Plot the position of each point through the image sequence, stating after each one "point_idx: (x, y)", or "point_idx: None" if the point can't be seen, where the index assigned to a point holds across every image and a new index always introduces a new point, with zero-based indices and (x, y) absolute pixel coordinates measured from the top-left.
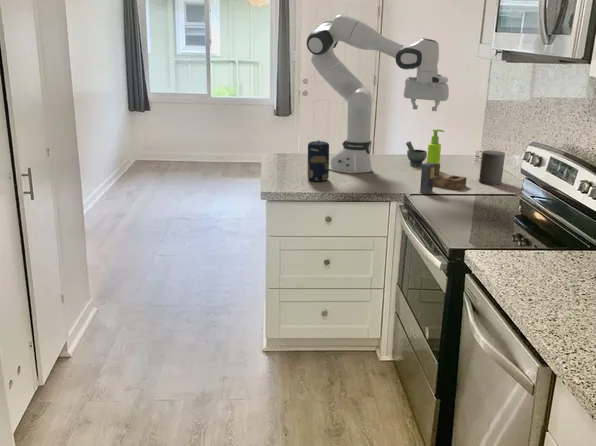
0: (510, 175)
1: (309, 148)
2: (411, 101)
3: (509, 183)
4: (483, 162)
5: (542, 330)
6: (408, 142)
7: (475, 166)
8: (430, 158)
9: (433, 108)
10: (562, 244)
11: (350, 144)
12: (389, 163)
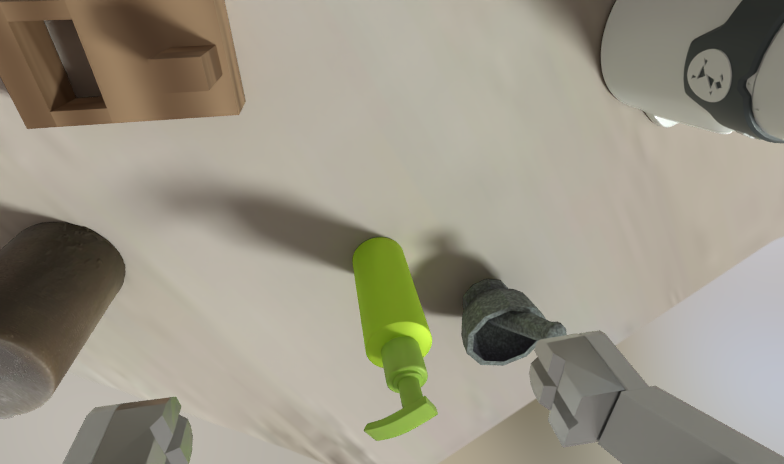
0: (130, 393)
1: None
2: (761, 454)
3: None
4: (19, 290)
5: None
6: (556, 336)
7: (309, 405)
8: (388, 274)
9: (111, 447)
10: None
11: None
12: (580, 245)
